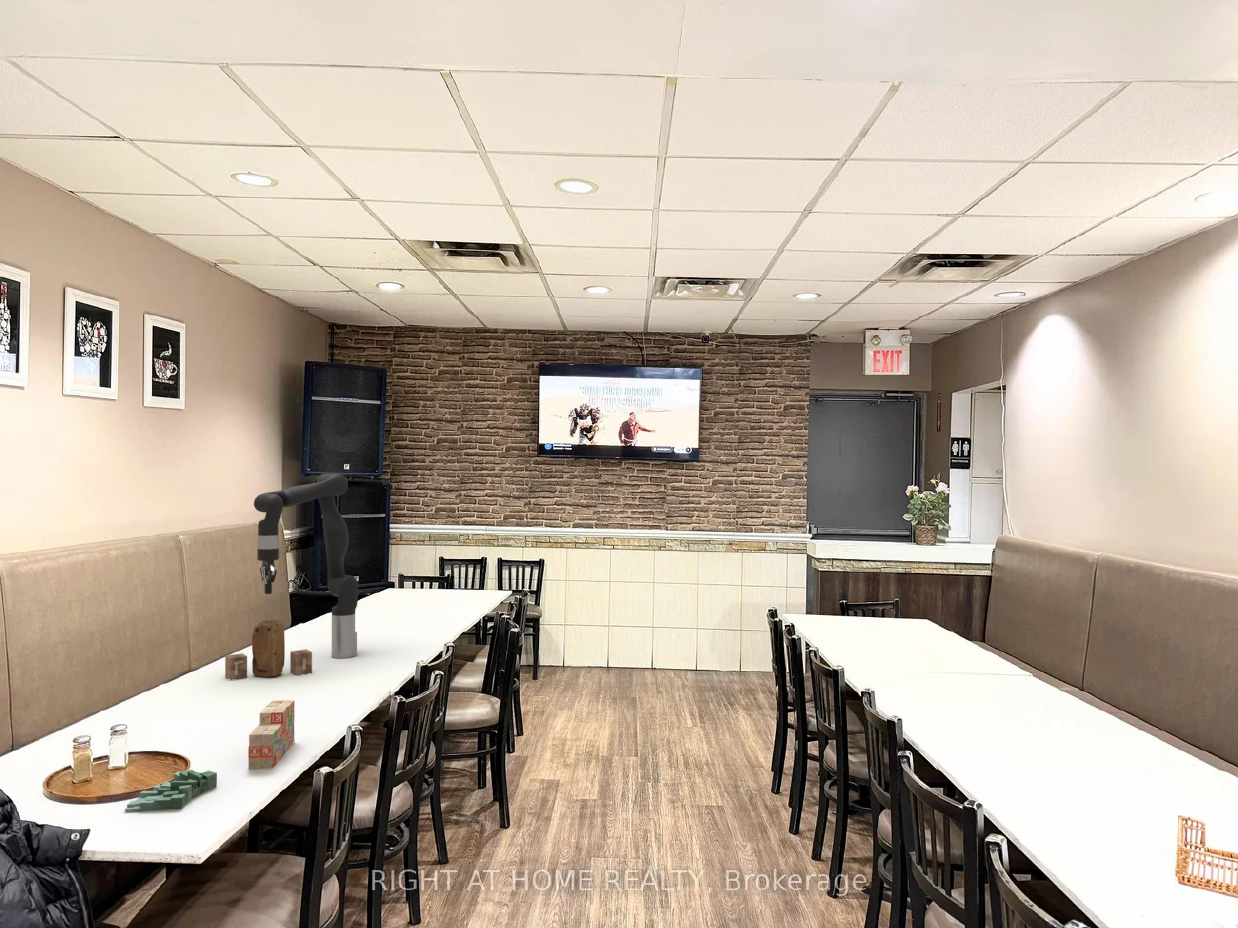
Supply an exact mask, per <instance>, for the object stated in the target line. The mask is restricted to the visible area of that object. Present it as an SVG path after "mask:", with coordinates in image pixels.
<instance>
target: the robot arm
mask: <svg viewBox="0 0 1238 928" xmlns="http://www.w3.org/2000/svg"><path fill="white" fill-rule="evenodd" d="M348 484H349V483H348V479H347V477H345V475H343V474H340V473H321V474H319V476H318V477H317V480H316V482H313V483H307V484H301V485H293V486H291V487H288V488H284V489H282V490H275V491H268V492H264V493H260V494H258V495H257V496H256V497H255V498H254V501H253V507H254V508H255V509H256V510H257V512H260V513H265V516H264V518H262V519H260V520H259V521H258V525H257V529H258V530H257V531H258V532H257V543H256V544H257V545H256V546H257V547H256V548H257V553H256V554H257V556H256V557H257V558H256V559H257V561H258V562H259V561H260V562H262V563H261V567H259V573H260V576H261V581H262V582H263V584H264V586H263V587H264V594H266V595H271V594H272V593H273V589H272V588H273V583H275V580H276V576H277V573H278V570H277V569H276V565H275V561H278V560H279V559H280V538H279V523H280V520H281V517H282V513H283V508H289V507H293V506H296V505H300V504H303V503H306V502H311V501H313V500H317V499H318V501H319V502H318V503H319V506H320V507H319V508H320V512H321V518H322V525H323V526H322V527H323V536H324V544H325V552H326V553H325V554H326V563H327V565H326V566H327V588H328V592H329V593H330V595H332V596H333V597H337V598H338V599H337V604H336V605H335V606H333V607H332V608H331V658H334V659H335V658H336V659H347V658H348V659H349V658H352V657H355V656H358V632H357V631H356V610H357V607H358V601H359V600H358V599H359V583H358V580H357V578H356V577H355V576H353V575H348V574H346V572H345V567H344V566H345V565H344V564H345V563H344V562H345V561H344V559H345V556H346V553H347V550H348V547H349V541H350V540H349V531H348V526H347V523H346V521H345V520H344V518H343V516H342V515H341V513H340V511H339V509H338V507H337V503H336V497H340V496H342V495H344V494H345V493H346V492H347V490H348V487H349V485H348Z"/></svg>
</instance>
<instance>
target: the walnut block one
mask: <svg viewBox="0 0 1238 928" xmlns="http://www.w3.org/2000/svg"><path fill="white" fill-rule="evenodd" d="M289 658H290V659H289V660H290V665H289V666H290V667H289V668H290V669H289V670H290V672H291V674H292V673H293V674H292V675H294V676H295V675H297V676H302V675H301V674H304V675H309V674H308V673H310V674H313V652H312V651H310V650H308V649H307V648H306V649H299V650H293V651H292V650H291V651H290V657H289Z"/></svg>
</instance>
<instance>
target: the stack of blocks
mask: <svg viewBox="0 0 1238 928" xmlns="http://www.w3.org/2000/svg"><path fill="white" fill-rule="evenodd" d="M295 713H296V712H295V700H294V699H291V700H289V699H287V700H286V699H285V700H272V701H270V702H269V703H267V705H266V706H264V707H263V709H262V710H261V711H260V712H259V724H258V725H257V726H256V727H255V728H254V729H253V730H252V731H251V732H250V733H249V735H248V754H247V755H248V763H247V764H248V770H269V769H270V770H271V769H272V770H273V768H274V767H275V766H276V765H277V764H278V763H279V761H280V760H281V759H282V758H283V756H284V755H285V754H286V753H285V752H288V750H289V749H290V748H291V747H290V746H291V745H292V746H293V745H294V743H295ZM293 742H294V743H293ZM289 747H290V748H289Z"/></svg>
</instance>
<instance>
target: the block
mask: <svg viewBox="0 0 1238 928" xmlns="http://www.w3.org/2000/svg"><path fill="white" fill-rule="evenodd" d="M284 625H285V624H284V622H283V621H280V620H279V621H277V620H273V619H271V620H263V621H260V622H259V623H257V624H255V627H254V628H253V630H252V634H251V649H252V650H251V651H252V660H251V663H252V664H251V665H252V674H253V675H254V676H258V677H264V678H274V677H278V676H280V675H281V674H282V672H283V670H284V666H285V656H286V655H285V653H286V652H285V650H286V649H285V648H286V647H285V646H286V644H285V641H286V640H285V626H284Z"/></svg>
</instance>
